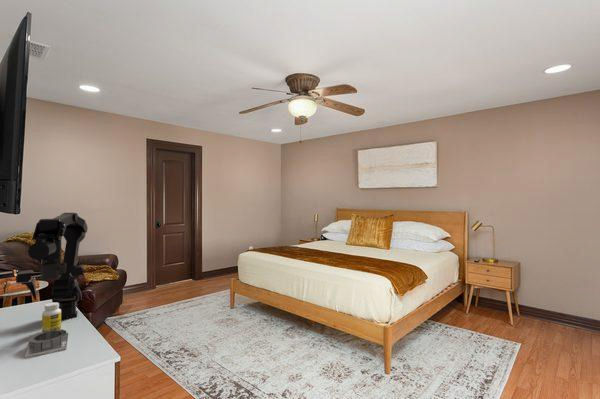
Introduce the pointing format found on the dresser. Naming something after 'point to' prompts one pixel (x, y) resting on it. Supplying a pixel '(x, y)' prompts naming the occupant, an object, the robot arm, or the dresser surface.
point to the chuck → (47, 342)
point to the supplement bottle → (51, 317)
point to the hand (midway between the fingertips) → (52, 297)
